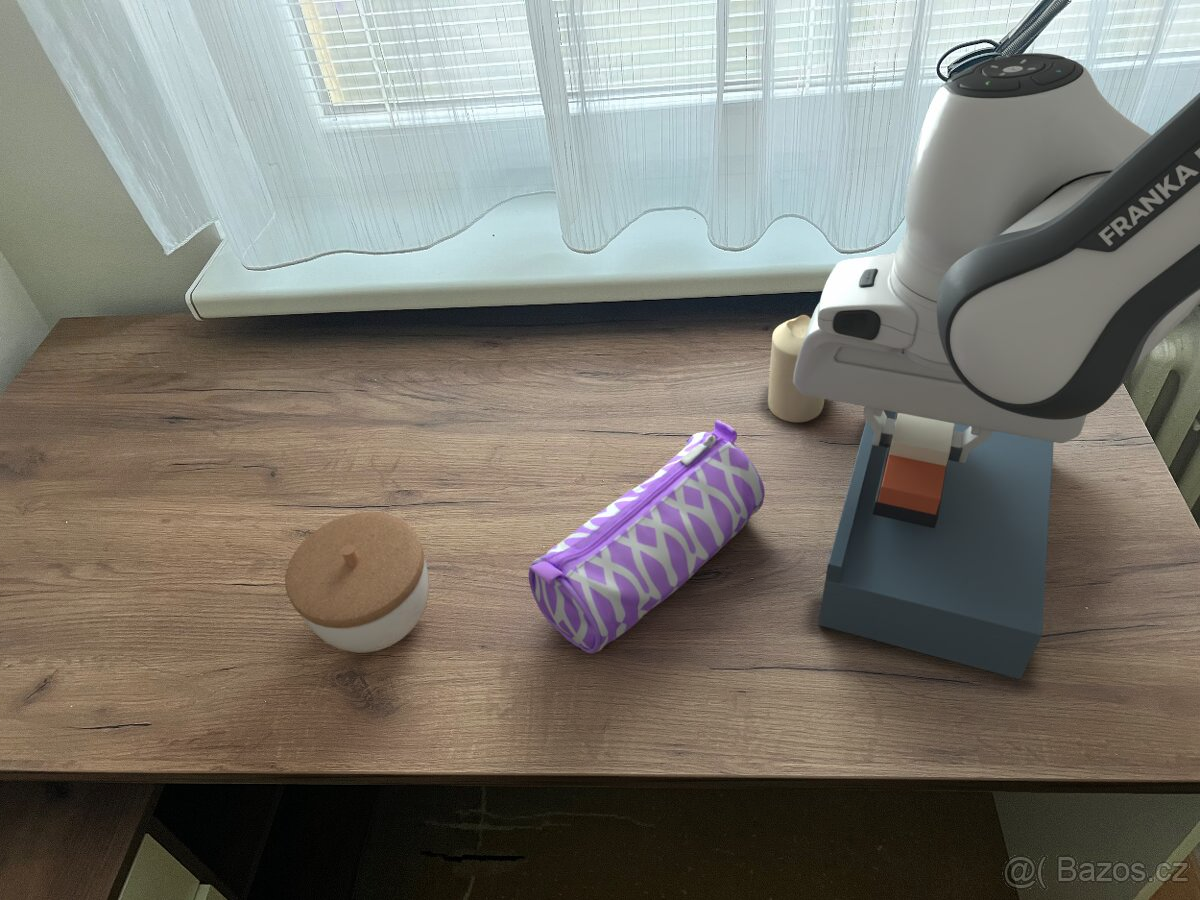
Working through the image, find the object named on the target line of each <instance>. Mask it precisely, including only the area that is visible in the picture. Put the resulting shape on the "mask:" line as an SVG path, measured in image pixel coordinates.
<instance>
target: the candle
mask: <svg viewBox="0 0 1200 900" xmlns="http://www.w3.org/2000/svg"><path fill="white" fill-rule="evenodd" d="M811 318H812V317H810V316H809V315H807V314H801V315H799V316H798V317H795V318H792V319H789V320H786V321H784V322H782V323H780V324H779V325H777V327H776V328H775V329H774V330H773V332H772V337H771V351H770V363H769V366H770V367H769V379H768V390H767V391H768V392H767V405H768V408H769V410H770V412H771V413H772V414H773V415H774V416H775V417H777V418H779V419H780V420H783V421H785V422H788V423H789V422H791V423H805V422H809V421H812V420H814V419H815V418H817V417H818V416H819V415H820V414H821V413H822V411H823V409H824V404H825V399H822V398H817V397H811V396H806V395H803V394H802V393H801V392H800V391H799V390H798V389H797V387H796V386H795V385H794V383H793V378H794V371H795V366H796V362H797V358H798V355H799V352H800V349H801V346H802V343H803V340H804V337H805V334H806V331H807V328H808V326H809V323H810V321H811Z"/></svg>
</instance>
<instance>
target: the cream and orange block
mask: <svg viewBox="0 0 1200 900" xmlns="http://www.w3.org/2000/svg"><path fill="white" fill-rule="evenodd" d="M895 420H896V425H895V429H894V433H893V437H892V442H891V446H890V448H888V449H887V453H886V458H885V462H884V466H883V470H882V475H881V479H880V483H879V488H878V492H877V496H876V500H875V505H874V510H873V515H877V516H882V517H886V518H890V519H895V520H899V521H904V522H908V523H913V524H917V525H921V526H926V527H930V528H935V526H936V523H937V520H938V516H939V510H940V505H941V499H942V493H943V487H944V481H945V475H946V469H947V463H948V458H949V454H950V449H951V443H952V437H953V431H954V425H955V423H950V422H944V421H939V420H934V419H928V418H923V417H918V416H912V415H907V414H902V413H897V412H896V415H895Z"/></svg>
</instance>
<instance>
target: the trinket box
mask: <svg viewBox="0 0 1200 900" xmlns="http://www.w3.org/2000/svg"><path fill="white" fill-rule="evenodd" d="M424 553H425V552H424V548H423V544H422V542H421V540H420V537H419V534H418V533H417V532H416V530H415V529H414V528H413V527H412V526H411V525H410V524H409V523H408V522H406V521H405V520H403V519H401V518H400V517H399V516H398V517H397V516H396V515H392V514H389V513H384V512H376V511H365V512H357V513H352V514H347V515H344V516H340V517H338V518H336V519H333V520H331V521H329V522H328V523H325V524H324V525H322V526H320V527H319V528H317V529H316V530H315V531H313V532H312V533H311V534H310V535H308V536H307V537H306V538H305V539H304V540H303V541H302V543H300V544H299V546H298V547H297V549H296V550H294V553H293V555H292V557H291V559H290V560H289V562H288V565H287V568H286V571H285V578H284V580H285V581H284V582H285V583H284V584H285V591H286V595H287V597H288V599H289V601H290V603H291V605H292V607H293V609H295V610H296V612H297V613H298V614H299V616H300V617H301V619H302V621H304V623H305V624H306V625H307V626H308V628H309V629H310V630H311V631H312V632H313V633H314V634H315V636H318V637H319V639H321V640H322V641H324V642H325V643H326V644H328V645H330V646H332V647H334V648H336V649H339V650H341V651H345V652H349V653H357V654H358V653H361V654H362V653H373V652H377V651H380V650H384V649H387V648H390V647H391V646H394V645H395V644H396V643H398V642H400V641H401V640H403V639H404V638H405V637H406V636H407V635H408V634H410V633H411V632H412V631H413V630H414V628H415V627H416V626H417V625H418V623H419V621H420V620H421V619H422V616H423V614H424V612H425V610H426V607H427V603H428V600H429V595H430V577H429V569H428V564H427V560H426V557H425V554H424Z"/></svg>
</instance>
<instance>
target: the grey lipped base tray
mask: <svg viewBox="0 0 1200 900" xmlns="http://www.w3.org/2000/svg"><path fill="white" fill-rule="evenodd" d="M884 412H885V414H886V416H887V418H890V419H895V415H896V412H891V411H886V410H884ZM969 427H970V426H965V425H960V424H955V425H954V431H958V432H964V431H965V430H966V429H968V428H969ZM874 433H875V431H873V429H872V428H871V426H870V424H869V423H868V421H867V419H866V421H865V424H864V428H863V432H862V435H861V439H860V443H859V447H858V450H857V454H856V457H855V461H854V466H853V470H852V473H851V476H850V481H849V484H848V488H847V492H846V495H845V499H844V502H843V507H842V509H841V514H840V517H839V522H838V526H837V529H836V533H835V536H834V540H833V544H832V547H831V551H830V555H829V559H828V562H827V563H828V564H827V569H826V574H825V580H824V587H823V591H822V592H823V593H822V598H821V604H820V610H819V616H818V622H817V625H818V626H821V627H825V628H827V629H832V630H836V631H838V632H839V631H840V632H844V633H846V634H850V635H855V636H858V637H862V638H865V639H869V640H873V641H876V642H880V643H883V644H887V645H890V646H894V647H899V648H903V649H906V650H910V651H913V652H917V653H921V654H924V655H928V656H932V657H936V658H940V659H943V660H947V661H950V662H954V663H956V664H957V663H958V664H960V665H961V664H962V665H965V666H968V667H971V668H976V669H979V670H984V671H987V672H991V673H994V674H998V675H1002V676H1005V677H1010V678H1013V679H1017V680H1021V679H1022V677H1023V674H1024V672H1025V671H1026V669H1027V667H1028V664H1029V662H1030V660H1031V659H1032V656H1033V654H1034V652H1035V650H1036V648H1037V646H1038V645H1039V642H1040V640H1041V638H1042V637H1043V627H1044V611H1045V595H1046V594H1045V593H1046V592H1045V591H1046V578H1047V577H1046V575H1047V562H1048V561H1047V559H1048V541H1049V527H1050V526H1049V525H1050V509H1051V492H1052V479H1053V477H1052V475H1053V460H1054V459H1053V458H1054V444H1055V442H1050V441H1045V440H1040V439H1034V438H1029V437H1024V436H1018V435H1013V434H1008V433H1003V432H997V431H992V433H991V436H990V438H989V439H988V440H986V441H985V442H983V443H981V444H980V445H978V446H977V447H975V448H974V449H972V450H969V453H968V457H967V460H966V463H960V462H955V461H951V460H948V463H947V469H946V475H945V481H944V487H943V493H942V499H941V505H940V510H939V516H938V520H937V523H936V526H935V528H930V527H926V526H921V525H917V524H913V523H908V522H904V521H899V520H895V519H890V518H886V517H882V516H877V515H873V510H874V505H875V500H876V496H877V492H878V488H879V483H880V479H881V475H882V470H883V466H884V462H885V458H886V453H887V449H888V448H886V447H881V446H876V445H872V443H873V438H874Z"/></svg>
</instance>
